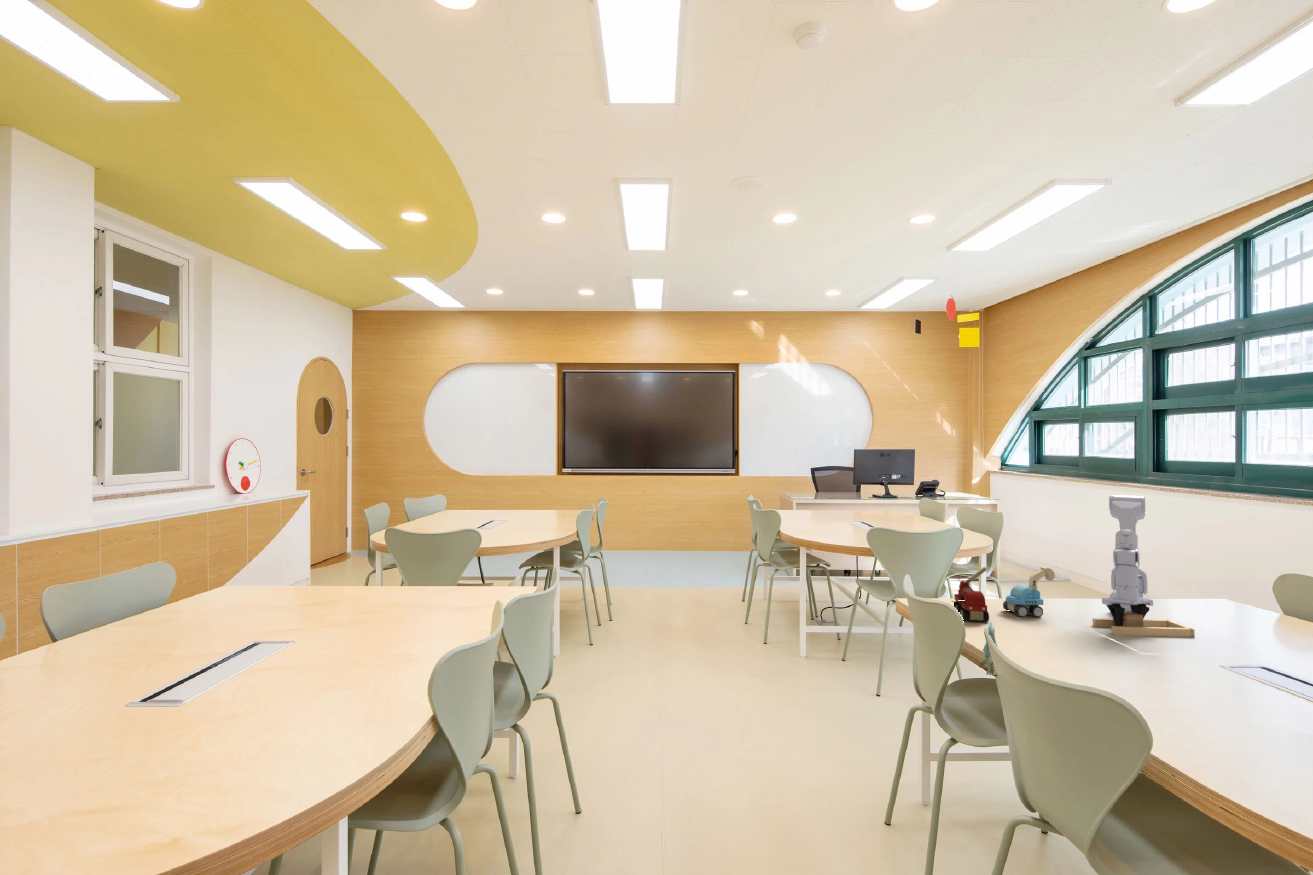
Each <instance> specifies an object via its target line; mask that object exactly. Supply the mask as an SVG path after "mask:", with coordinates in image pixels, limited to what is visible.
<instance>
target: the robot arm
mask: <svg viewBox="0 0 1313 875" xmlns="http://www.w3.org/2000/svg"><path fill="white" fill-rule="evenodd" d="M1108 509H1109V511H1110V513H1109V514H1110V515H1111V517H1112V518H1113V519H1117V520H1118V522H1119V530H1118V531H1116V533H1115V538H1114V539H1115V540H1114V541H1115V544H1114V548H1115V549H1113V551H1112V557H1113V558H1112V560H1113V565H1114V567H1113V568H1112V569H1111V575H1110V581H1111V583H1110V586H1111V587H1110V588H1111V590H1112V592H1111V593H1110V595H1109V596H1108V597H1101V604H1103V605H1105V606H1106V608H1107V609H1108V610H1109V612H1107V614H1110V615H1112V619H1114V622H1115V625H1116V626H1123V614H1124V611H1125V610H1130V611H1133V612H1136V613H1139V614H1141V615H1143V619H1147V618H1145V616H1146V615H1147V613H1148V612H1149V611H1150V607H1153V606H1154V600H1153V599H1151V598H1146V597H1145V598H1144V595H1147V594H1148V592H1149V591H1148V576H1147V572H1146V571H1145V570H1144V569H1142V568H1140V563H1141V562H1140V552H1139V547H1138V545H1139V543H1138V542H1139V541H1138V540H1139V538H1138V537H1139V536H1138V534H1137V532H1136V528H1137V523H1138V521H1140V520H1144V519H1145V517H1146V497H1145V496H1144V495H1139V496H1138V495H1117V494H1116V495H1115V494H1111V495H1109V497H1108Z"/></svg>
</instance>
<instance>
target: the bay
mask: <svg viewBox="0 0 1313 875" xmlns="http://www.w3.org/2000/svg"><path fill="white" fill-rule="evenodd" d="M1092 626H1093V627H1101V628H1102V627H1103V628H1104V627H1105V628H1111V635H1113V636H1133V637H1134V636H1137V637H1139V636H1141V637H1180V638H1181V637H1182V638H1195V629H1194V628H1192V627H1189V626H1187V625H1184V624H1181V623H1178V622H1175V621H1173V620H1170V619H1148V618H1146V619H1143V627H1124V626H1113V618H1102V617H1101V618H1100V617H1099V618H1097V617H1092Z"/></svg>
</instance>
